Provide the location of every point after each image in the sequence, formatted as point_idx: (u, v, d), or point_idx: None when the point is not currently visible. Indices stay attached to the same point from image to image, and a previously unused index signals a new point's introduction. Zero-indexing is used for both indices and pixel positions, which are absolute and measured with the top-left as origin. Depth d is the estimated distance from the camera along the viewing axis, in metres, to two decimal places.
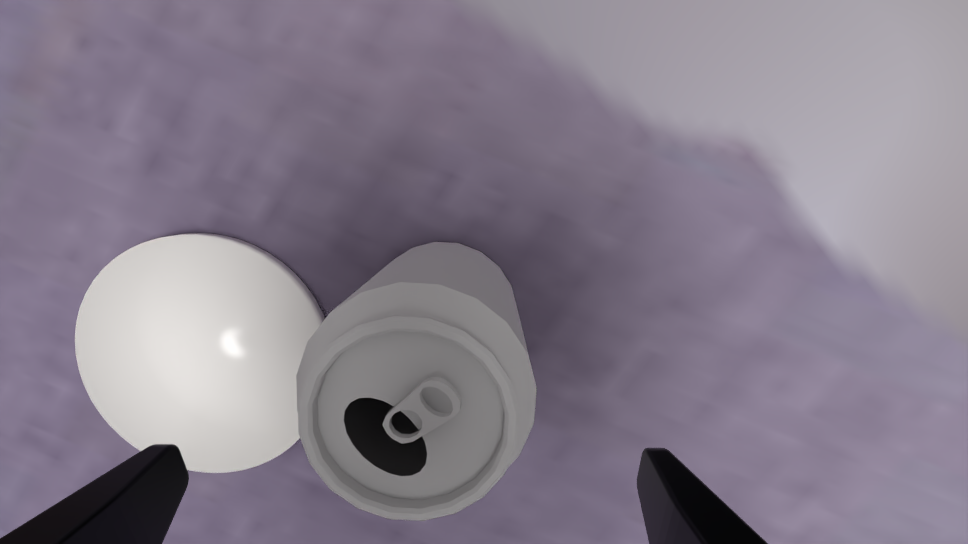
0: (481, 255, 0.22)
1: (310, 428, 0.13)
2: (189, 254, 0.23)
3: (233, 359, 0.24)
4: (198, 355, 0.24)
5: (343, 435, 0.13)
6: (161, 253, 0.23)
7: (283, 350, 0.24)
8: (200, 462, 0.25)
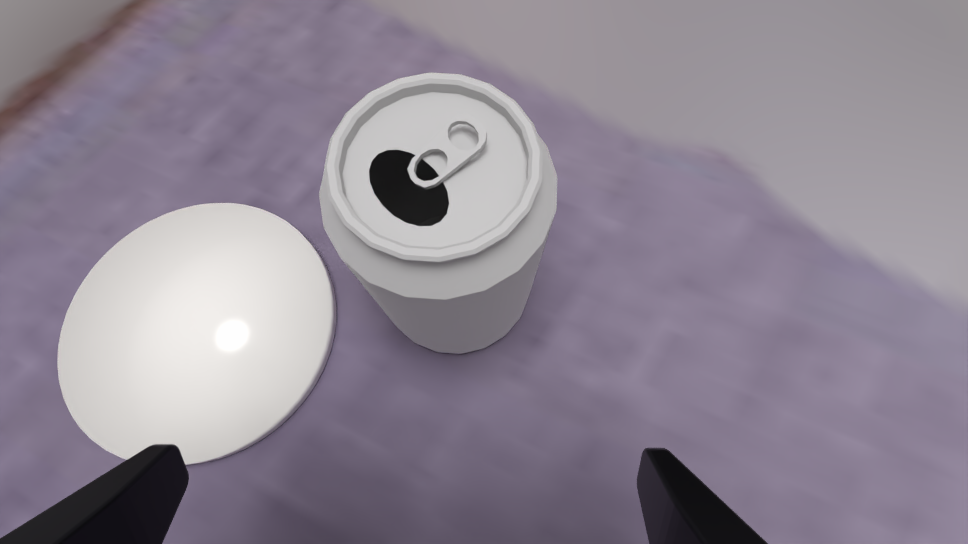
0: None
1: (337, 161, 0.13)
2: (221, 218, 0.24)
3: (230, 321, 0.23)
4: (195, 316, 0.23)
5: (366, 183, 0.13)
6: (194, 217, 0.24)
7: (286, 312, 0.23)
8: None
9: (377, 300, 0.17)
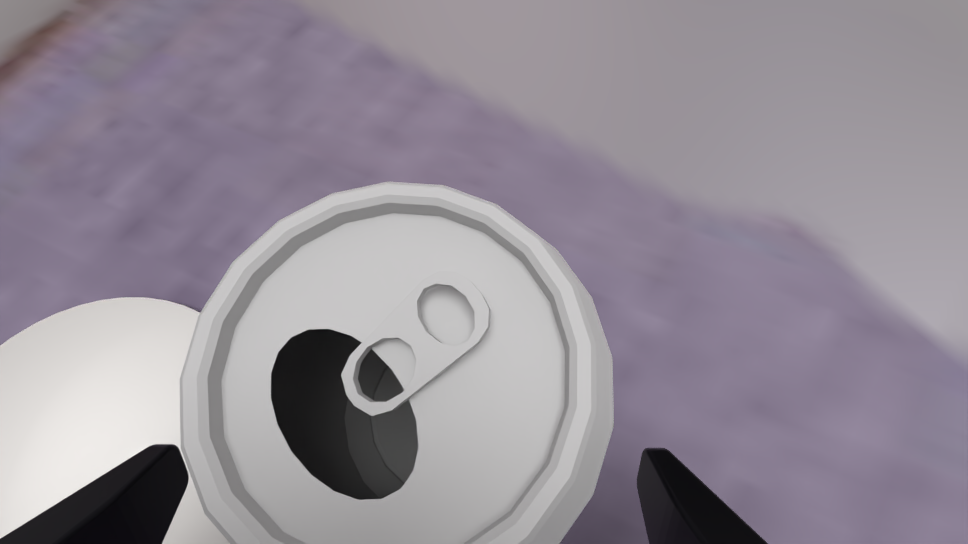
0: None
1: (204, 367, 0.07)
2: (131, 320, 0.18)
3: None
4: (84, 466, 0.16)
5: (264, 402, 0.07)
6: (95, 318, 0.18)
7: None
8: None
9: None
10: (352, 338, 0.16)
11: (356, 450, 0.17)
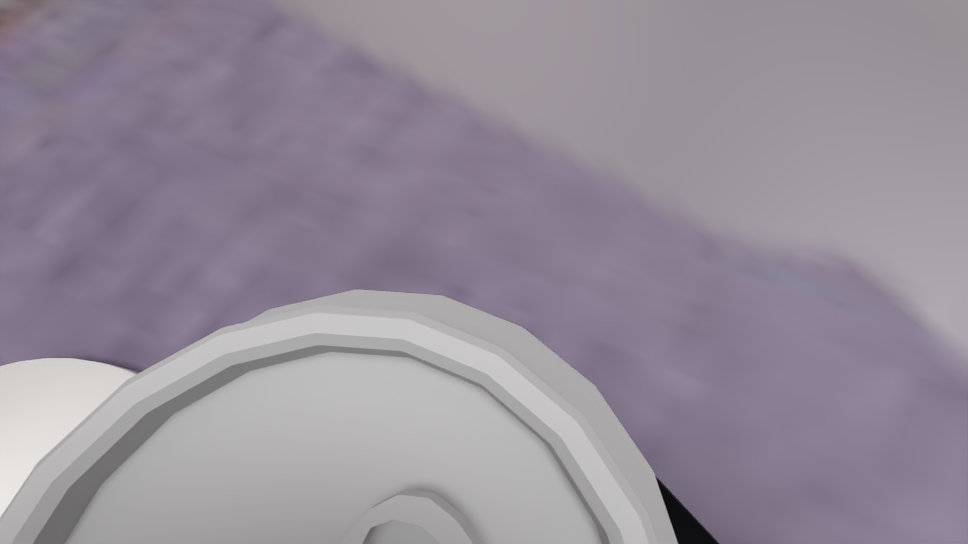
0: None
1: None
2: (54, 387, 0.15)
3: None
4: None
5: None
6: (11, 385, 0.15)
7: None
8: None
9: None
10: None
11: None
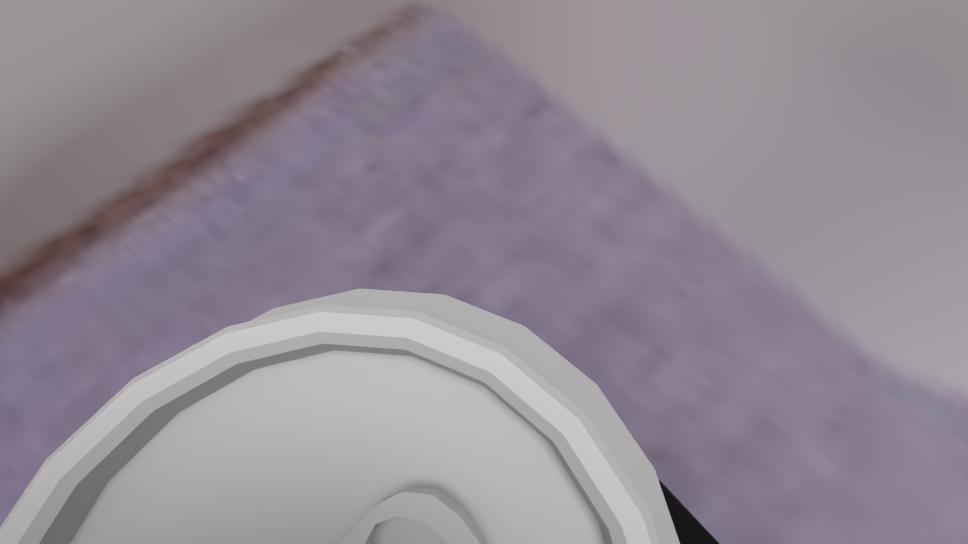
0: None
1: None
2: None
3: None
4: None
5: None
6: None
7: None
8: None
9: None
10: None
11: None
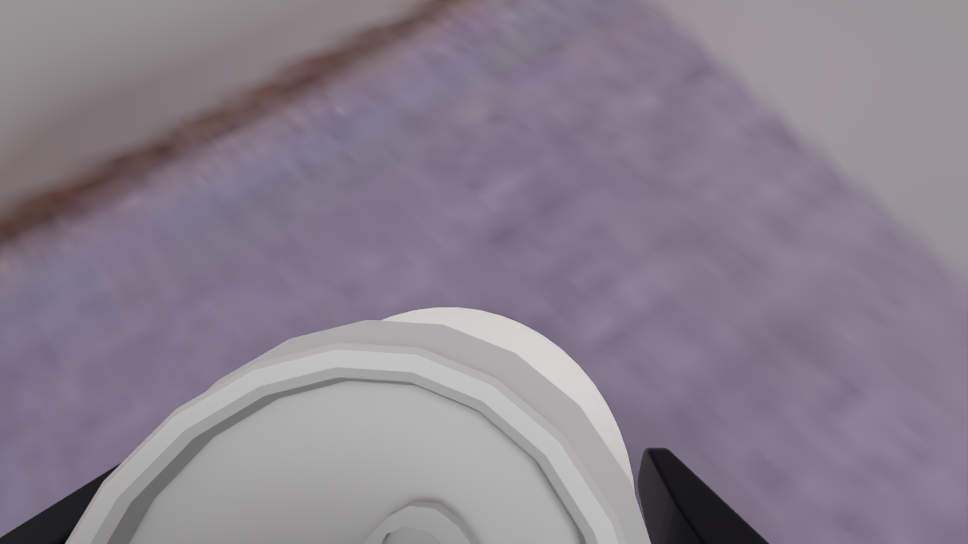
0: None
1: None
2: (506, 343, 0.17)
3: None
4: None
5: None
6: (472, 328, 0.17)
7: None
8: None
9: None
10: None
11: None
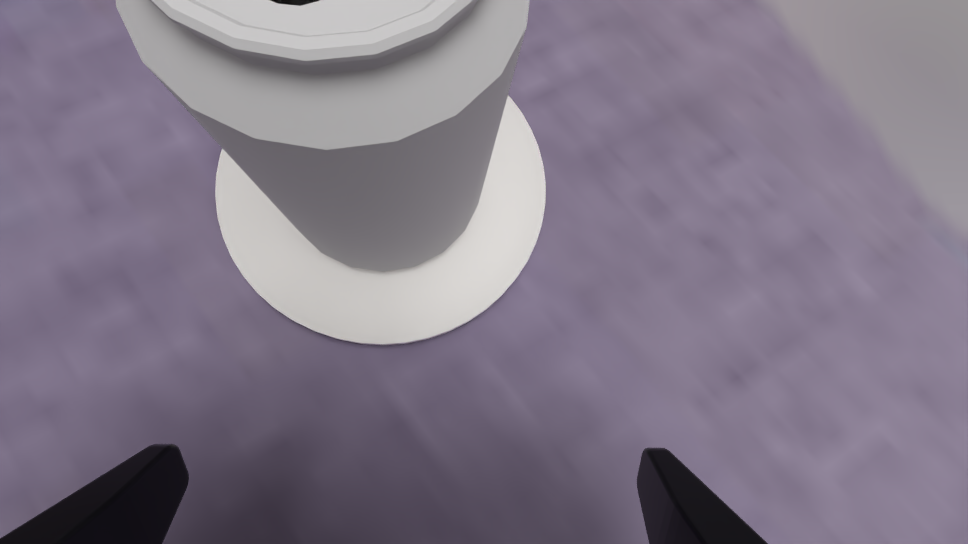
0: None
1: None
2: None
3: None
4: None
5: None
6: None
7: (488, 217, 0.19)
8: (292, 300, 0.17)
9: (245, 171, 0.11)
10: None
11: None
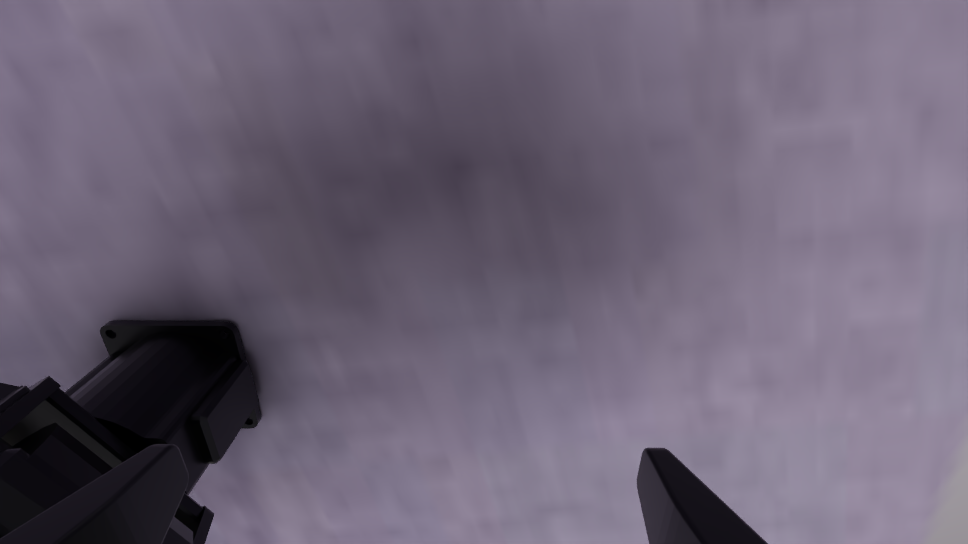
0: None
1: None
2: None
3: None
4: None
5: None
6: None
7: None
8: None
9: None
10: None
11: None
